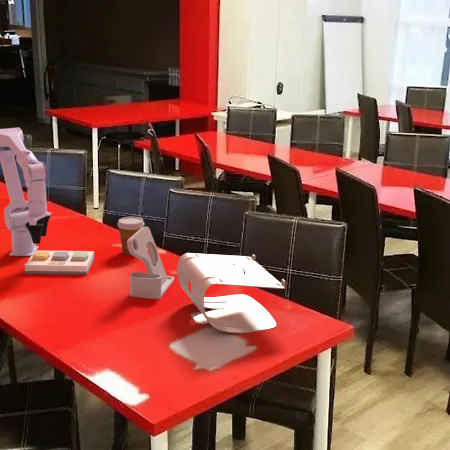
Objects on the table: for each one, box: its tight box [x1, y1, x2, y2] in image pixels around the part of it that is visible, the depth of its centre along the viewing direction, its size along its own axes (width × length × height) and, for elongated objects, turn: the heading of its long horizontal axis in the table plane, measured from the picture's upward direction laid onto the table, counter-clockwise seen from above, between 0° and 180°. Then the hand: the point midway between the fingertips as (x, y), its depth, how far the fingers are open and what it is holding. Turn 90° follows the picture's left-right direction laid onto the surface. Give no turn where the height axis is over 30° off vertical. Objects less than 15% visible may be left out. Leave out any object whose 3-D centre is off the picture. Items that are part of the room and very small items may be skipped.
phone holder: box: [127, 226, 175, 300], centre depth 200 cm, size 17×10×18 cm, turn 168°
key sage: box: [72, 252, 88, 261], centre depth 217 cm, size 4×4×2 cm
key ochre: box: [32, 250, 49, 261], centre depth 216 cm, size 4×4×2 cm
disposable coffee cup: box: [117, 216, 145, 256], centre depth 231 cm, size 10×10×12 cm
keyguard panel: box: [24, 250, 95, 275], centre depth 217 cm, size 14×20×3 cm
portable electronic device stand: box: [176, 252, 286, 334], centre depth 182 cm, size 26×24×16 cm
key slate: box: [52, 252, 68, 261], centre depth 216 cm, size 4×4×2 cm
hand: (39, 239), depth 214 cm, fingers open, 7 cm apart
